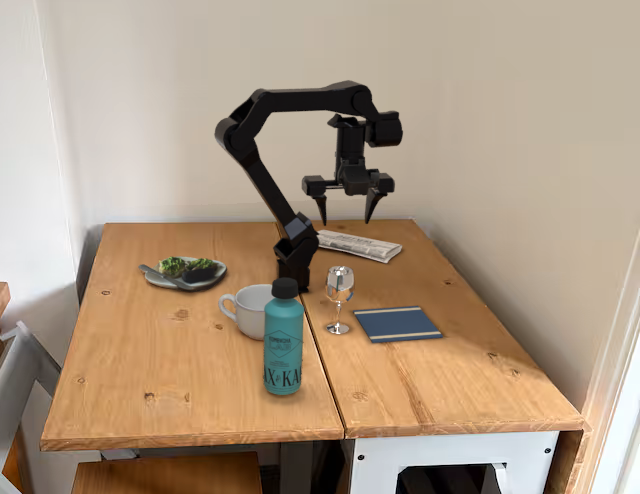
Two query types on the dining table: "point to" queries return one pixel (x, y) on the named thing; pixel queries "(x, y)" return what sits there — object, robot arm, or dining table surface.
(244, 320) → the teacup
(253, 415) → the dining table surface
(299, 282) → the robot arm
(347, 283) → the wineglass
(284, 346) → the beverage bottle
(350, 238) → the newspaper
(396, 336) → the napkin
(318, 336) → the dining table surface
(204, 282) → the salad plate
